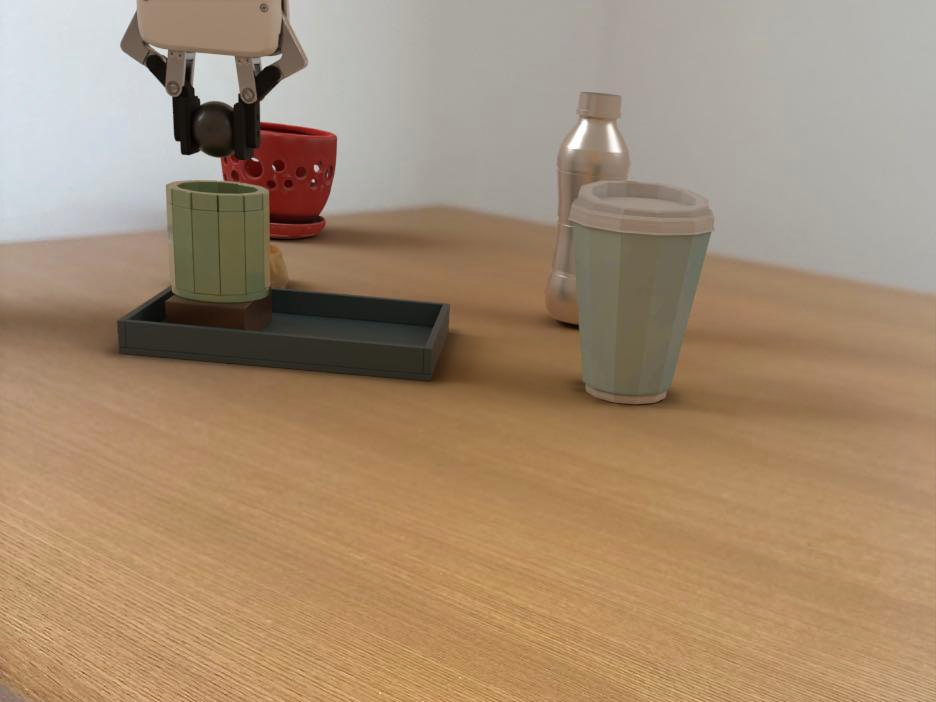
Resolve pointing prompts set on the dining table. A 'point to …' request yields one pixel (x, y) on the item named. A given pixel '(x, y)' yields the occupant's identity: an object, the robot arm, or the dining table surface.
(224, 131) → the ball
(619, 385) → the disposable coffee cup
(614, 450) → the dining table surface
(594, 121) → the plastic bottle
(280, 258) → the pastry
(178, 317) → the riser
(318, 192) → the flower pot
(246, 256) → the jar
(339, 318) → the tray
